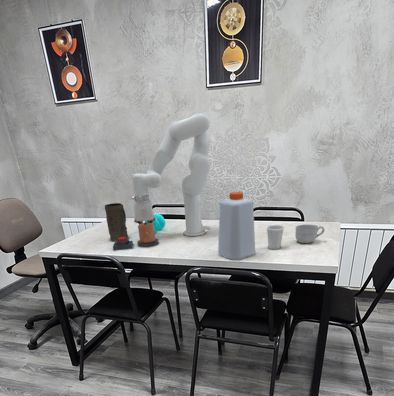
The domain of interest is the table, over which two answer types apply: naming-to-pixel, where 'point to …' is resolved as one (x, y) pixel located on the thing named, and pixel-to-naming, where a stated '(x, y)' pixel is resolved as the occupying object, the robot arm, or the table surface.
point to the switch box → (123, 245)
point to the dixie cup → (274, 236)
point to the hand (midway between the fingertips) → (146, 232)
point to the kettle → (146, 232)
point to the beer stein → (116, 221)
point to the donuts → (158, 222)
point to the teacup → (307, 233)
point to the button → (122, 239)
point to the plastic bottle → (236, 227)
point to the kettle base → (148, 243)
